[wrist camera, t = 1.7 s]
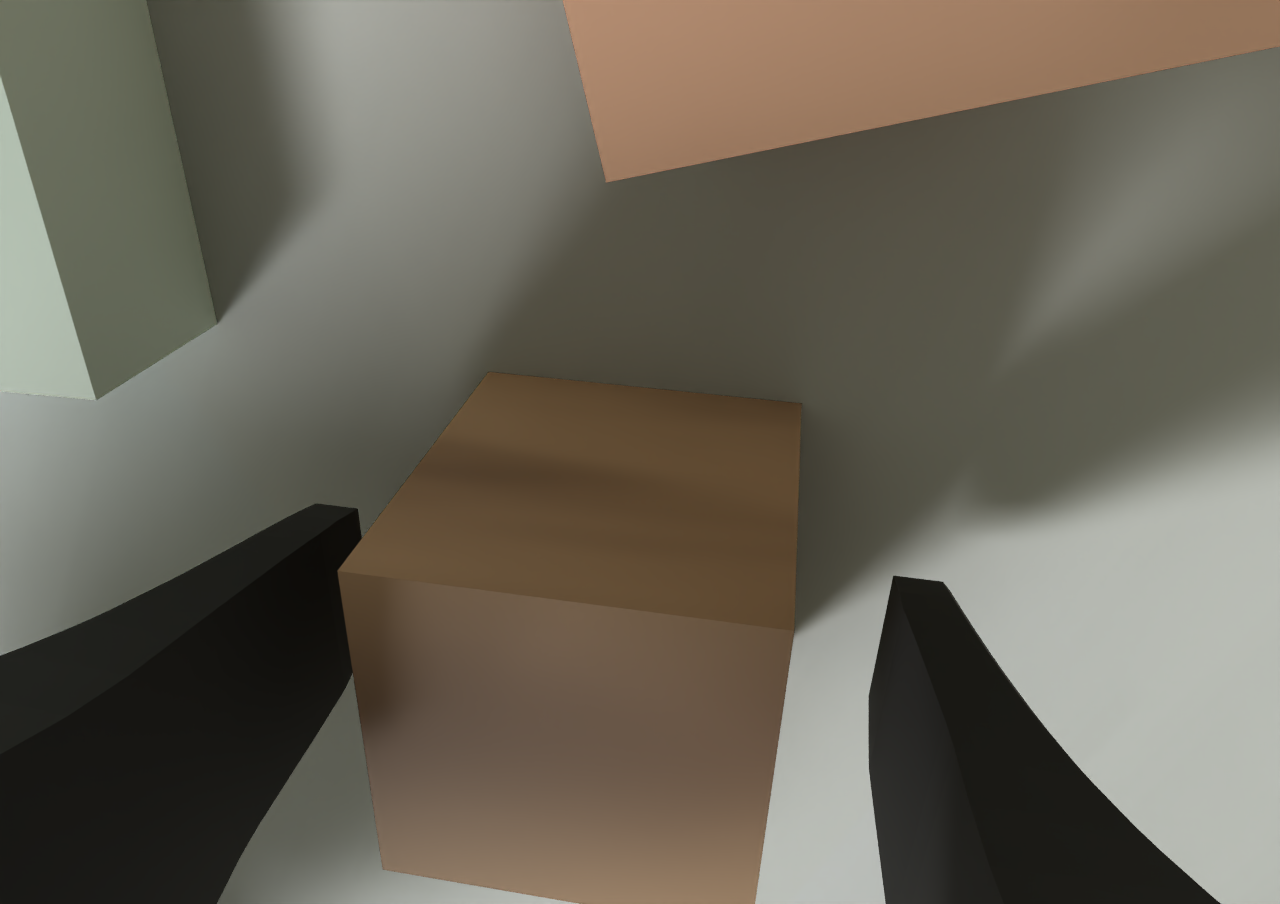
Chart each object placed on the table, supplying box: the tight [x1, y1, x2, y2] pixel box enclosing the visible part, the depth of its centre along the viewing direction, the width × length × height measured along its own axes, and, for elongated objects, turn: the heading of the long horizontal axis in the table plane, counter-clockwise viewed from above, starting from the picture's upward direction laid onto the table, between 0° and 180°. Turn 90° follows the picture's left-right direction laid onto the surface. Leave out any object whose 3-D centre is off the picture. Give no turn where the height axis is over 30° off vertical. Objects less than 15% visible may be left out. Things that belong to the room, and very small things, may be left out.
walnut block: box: [337, 372, 802, 904], centre depth 12 cm, size 4×4×5 cm
